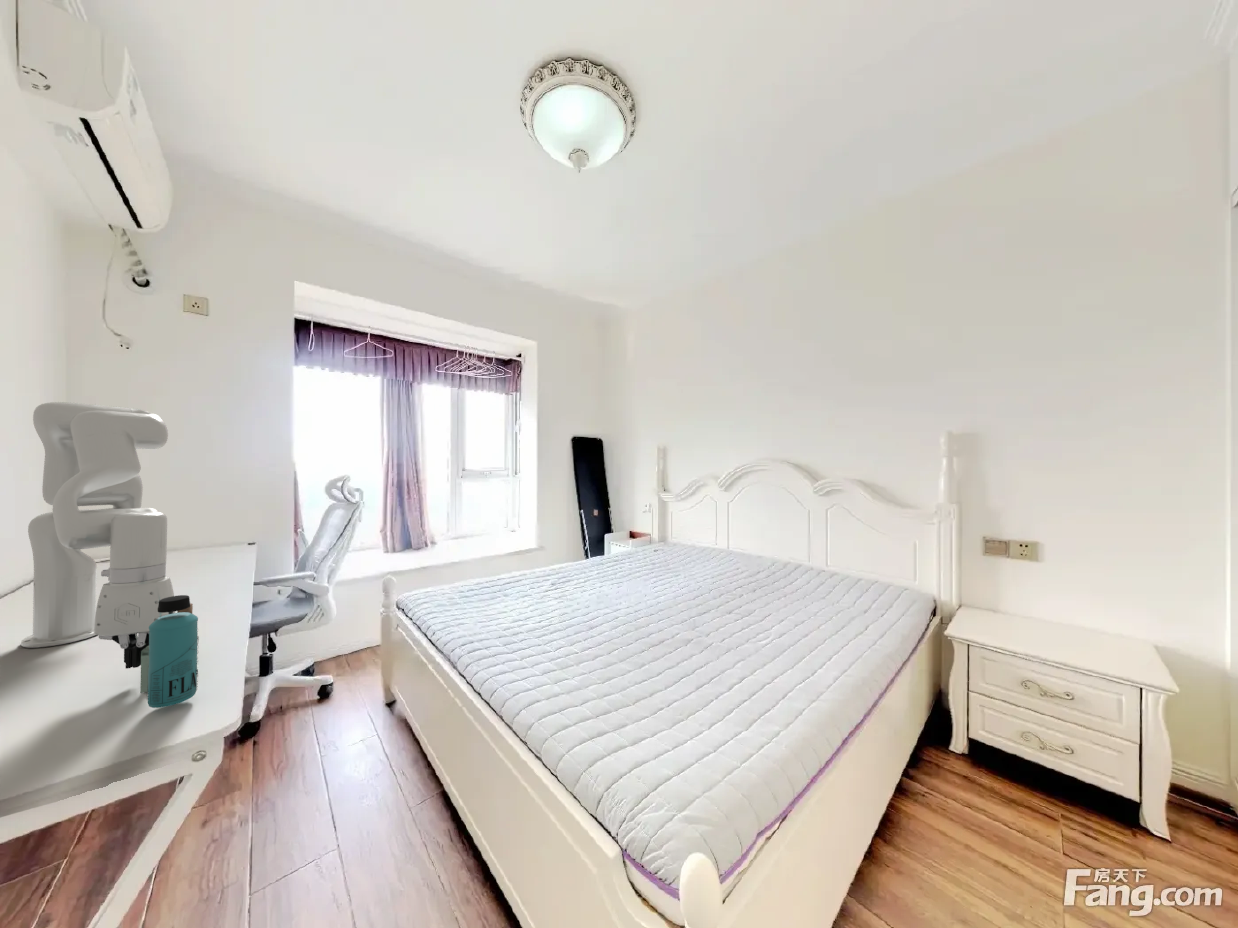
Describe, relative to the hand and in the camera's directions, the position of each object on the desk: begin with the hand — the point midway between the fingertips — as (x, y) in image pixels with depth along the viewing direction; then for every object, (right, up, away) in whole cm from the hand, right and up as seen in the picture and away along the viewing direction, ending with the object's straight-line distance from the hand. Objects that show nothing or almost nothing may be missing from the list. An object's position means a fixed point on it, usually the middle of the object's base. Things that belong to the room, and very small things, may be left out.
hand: (136, 664), depth 84 cm
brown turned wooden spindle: (-2, -4, +11) cm, 12 cm away
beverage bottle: (+15, -4, -8) cm, 18 cm away
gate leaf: (+3, -3, +3) cm, 5 cm away
